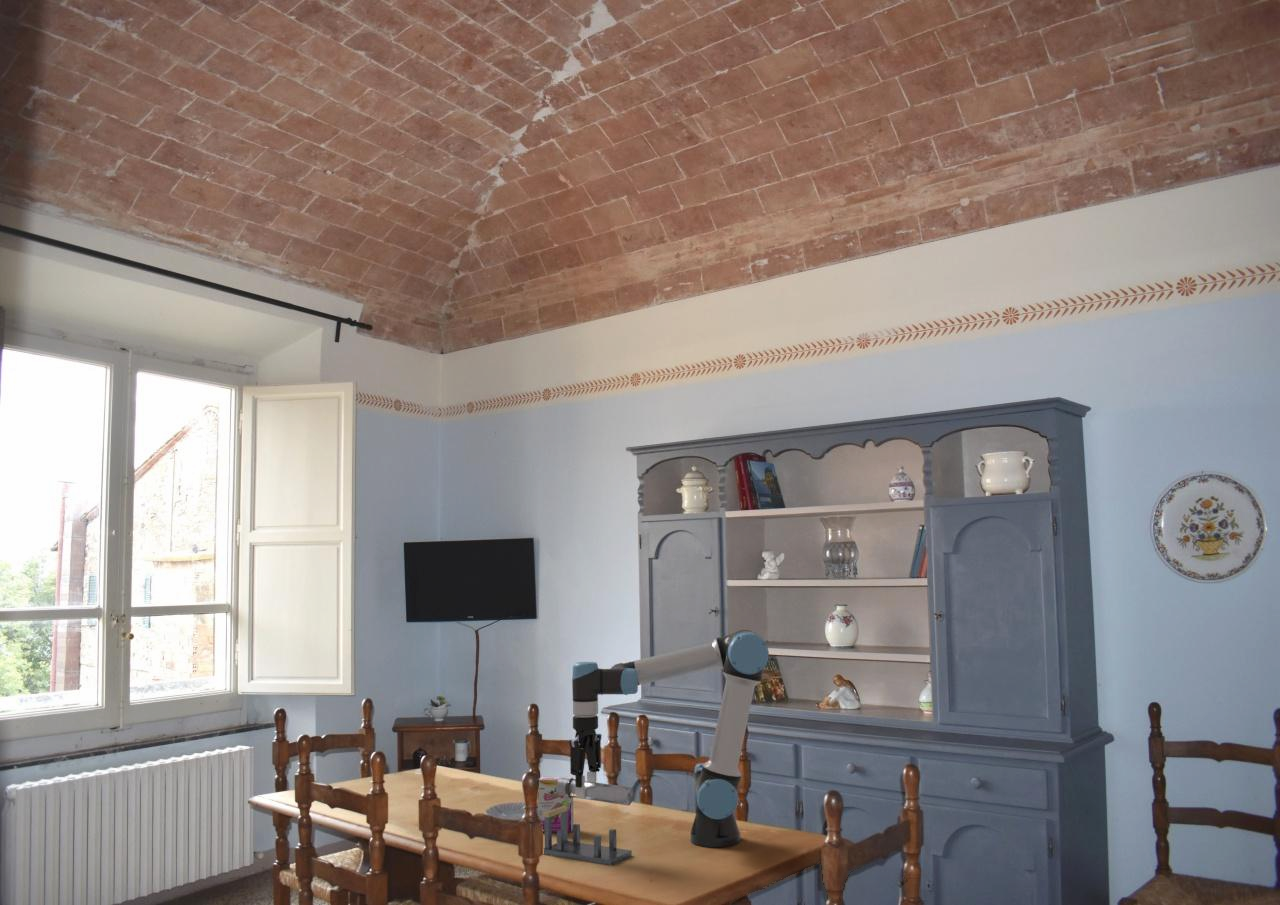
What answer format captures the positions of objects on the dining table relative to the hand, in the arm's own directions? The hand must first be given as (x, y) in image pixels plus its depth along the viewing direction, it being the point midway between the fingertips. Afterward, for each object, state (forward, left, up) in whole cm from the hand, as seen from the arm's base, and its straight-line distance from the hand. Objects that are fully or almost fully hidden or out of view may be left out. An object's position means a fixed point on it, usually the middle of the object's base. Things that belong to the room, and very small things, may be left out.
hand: (586, 796), depth 298 cm
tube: (-3, +1, -1) cm, 3 cm away
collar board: (0, 0, -17) cm, 17 cm away
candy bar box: (+24, -18, -17) cm, 34 cm away
